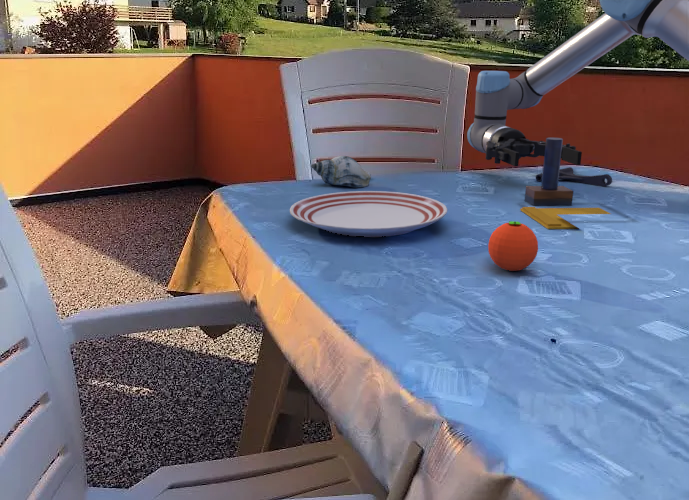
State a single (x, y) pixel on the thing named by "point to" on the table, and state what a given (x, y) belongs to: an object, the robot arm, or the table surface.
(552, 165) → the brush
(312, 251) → the table surface
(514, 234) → the clementine
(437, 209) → the dinner plate
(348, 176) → the seashell
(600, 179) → the bracket
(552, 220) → the yellow carpenter square
